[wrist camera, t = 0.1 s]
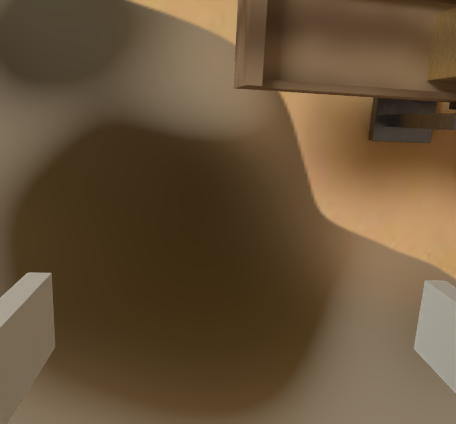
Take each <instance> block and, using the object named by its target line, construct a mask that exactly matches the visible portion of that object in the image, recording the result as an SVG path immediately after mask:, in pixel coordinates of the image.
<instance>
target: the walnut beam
mask: <svg viewBox="0 0 456 424" xmlns="http://www.w3.org/2000/svg"><path fill="white" fill-rule="evenodd" d="M455 7H456V0H238V11H237V32H236V52H235V73H234V88H236V89H252V90H269V91H283V92H298V93H314V94H329V95H345V96H360V97H376V98H391V99H407V100H422V101H438V102H450V106H449V109H456V82H443V81H428V80H427V73H428V66H429V60H430V53H431V46H432V39H433V33H434V26H435V19H436V14H439V13H441V12H444V11H447V10H449V9H452V8H455Z"/></svg>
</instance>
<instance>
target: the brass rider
mask: <svg viewBox="0 0 456 424" xmlns="http://www.w3.org/2000/svg"><path fill="white" fill-rule="evenodd" d="M427 80H428V81H443V82H456V7H455V8H452V9H449V10H447V11H444V12H441V13H439V14H436V19H435V26H434V33H433V39H432V46H431V53H430V60H429V66H428V73H427Z"/></svg>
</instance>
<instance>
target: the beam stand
mask: <svg viewBox="0 0 456 424" xmlns="http://www.w3.org/2000/svg"><path fill="white" fill-rule="evenodd" d="M436 104H437V101H422V100H407V99H391V98H376V97H374V99H373V107H372V115H371V123H370V131H369V140H372V141H394V142H416V143H430V142H431V136H432V129H441V130H456V113H453V114H435V110H436Z"/></svg>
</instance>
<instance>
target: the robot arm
mask: <svg viewBox="0 0 456 424" xmlns="http://www.w3.org/2000/svg"><path fill="white" fill-rule="evenodd" d="M54 348H55V335H54V317H53V295H52V275H51V273H27V274H26V275H25V276H24V277H22V278H21V279H20V280H19V281H18V282H17V283H16V284H15V285H14V286H13V287H12V288H11V289H9V290H8V291H7V292H6V293H5V294H4V295H3V296H2V297H1V298H0V424H7V423H8V422H9V420H10V419H11V417H12V415H13V414H14V412H15V411H16V409H17V407H18V406H19V404H20V403H21V401H22V399H23V398H24V396H25V395H26V393H27V391H28V390H29V388H30V387H31V385H32V383H33V382H34V380H35V378H36V377H37V375H38V374H39V372H40V370H41V368H42V367H43V366H44V364H45V362H46V361H47V359H48V358H49V356H50V354H51V353H52V351H53V349H54ZM414 349H415V350H416V352H417V353H418V354H419V355H420V356H421V357H422V358H423V359H424V360H425V361H426V362H427V363H428V365H429V366H430V367H431V368H432V369H433V370H434V371H435V372H436V373H437V374H438V375H439V376H440V377H441V378H442V379H443V381H444V382H445V383H446V384H447V385H448V386H449V387H450V388H451V389H452V390H453V391H454V392H455V393H456V287H454V286H453V285H451V284H450V283H448V282H447V281H441V280H425V284H424V290H423V296H422V303H421V308H420V314H419V320H418V326H417V332H416V338H415V345H414Z"/></svg>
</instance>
